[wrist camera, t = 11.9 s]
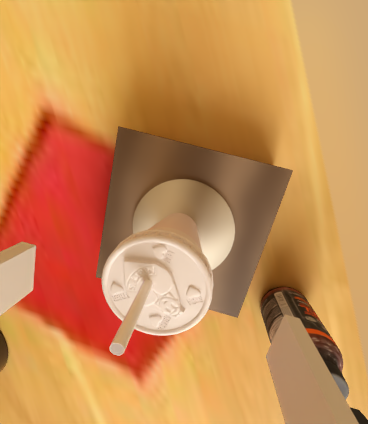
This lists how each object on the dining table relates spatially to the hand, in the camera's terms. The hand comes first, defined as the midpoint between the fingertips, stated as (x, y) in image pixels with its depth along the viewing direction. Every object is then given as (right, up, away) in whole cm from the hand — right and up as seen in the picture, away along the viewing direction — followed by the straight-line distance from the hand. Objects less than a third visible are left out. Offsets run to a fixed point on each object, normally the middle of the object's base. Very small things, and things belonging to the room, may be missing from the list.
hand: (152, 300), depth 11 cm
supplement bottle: (+15, -8, +18) cm, 25 cm away
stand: (+2, +4, +16) cm, 17 cm away
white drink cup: (+1, +3, +10) cm, 11 cm away
